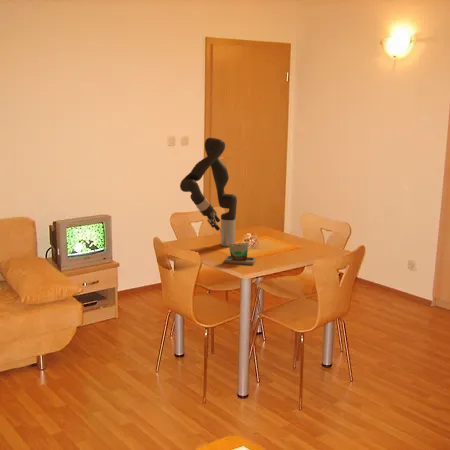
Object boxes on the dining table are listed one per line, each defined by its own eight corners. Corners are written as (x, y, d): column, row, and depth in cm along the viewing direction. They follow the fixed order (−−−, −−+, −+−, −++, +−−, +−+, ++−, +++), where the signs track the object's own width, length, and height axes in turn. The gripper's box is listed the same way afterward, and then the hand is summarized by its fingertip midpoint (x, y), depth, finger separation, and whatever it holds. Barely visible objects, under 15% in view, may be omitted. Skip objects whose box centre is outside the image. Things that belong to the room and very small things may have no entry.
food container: (230, 263, 355) (229, 247, 352) (228, 259, 361) (227, 243, 357) (251, 261, 357) (250, 245, 353) (249, 257, 362) (248, 241, 359)
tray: (227, 258, 365) (227, 255, 365) (255, 260, 363) (255, 257, 362) (224, 263, 356) (224, 260, 355) (253, 265, 353) (253, 262, 353)
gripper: (209, 210, 352) (224, 229, 360) (209, 196, 364) (224, 216, 372) (198, 215, 354) (213, 235, 362) (199, 202, 366) (213, 221, 374)
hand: (218, 225), depth 367 cm, fingers open, 8 cm apart
